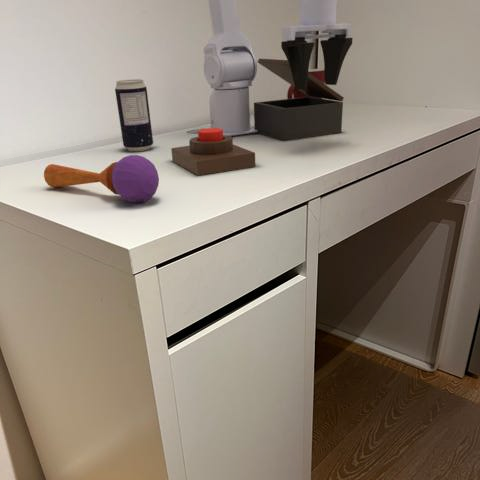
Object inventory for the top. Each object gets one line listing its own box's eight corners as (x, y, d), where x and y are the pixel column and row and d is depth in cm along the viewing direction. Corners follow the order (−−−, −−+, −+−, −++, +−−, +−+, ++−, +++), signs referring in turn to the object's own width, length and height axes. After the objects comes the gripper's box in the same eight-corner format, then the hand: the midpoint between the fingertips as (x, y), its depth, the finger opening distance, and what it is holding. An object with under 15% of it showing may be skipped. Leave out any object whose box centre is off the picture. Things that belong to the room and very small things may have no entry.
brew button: (195, 141, 84) (194, 129, 83) (217, 138, 85) (216, 127, 84) (204, 145, 81) (203, 133, 80) (227, 141, 82) (226, 130, 81)
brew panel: (172, 161, 88) (169, 137, 86) (225, 153, 91) (223, 130, 89) (197, 175, 78) (195, 148, 76) (255, 166, 82) (254, 140, 80)
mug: (304, 120, 120) (305, 73, 115) (278, 117, 125) (277, 72, 120) (330, 113, 126) (332, 69, 121) (304, 111, 131) (304, 68, 126)
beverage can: (159, 146, 99) (151, 79, 93) (142, 152, 95) (133, 82, 89) (135, 145, 101) (126, 79, 95) (118, 151, 97) (107, 82, 91)
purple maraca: (68, 154, 77) (167, 154, 66) (72, 195, 78) (169, 201, 68) (33, 154, 72) (133, 155, 61) (38, 197, 74) (136, 205, 63)
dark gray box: (283, 140, 99) (283, 108, 96) (254, 131, 109) (253, 102, 106) (341, 132, 104) (343, 102, 101) (308, 124, 114) (309, 96, 111)
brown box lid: (288, 64, 93) (290, 60, 93) (257, 62, 103) (258, 58, 103) (342, 101, 101) (344, 97, 101) (308, 96, 111) (310, 92, 111)
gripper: (305, -10, 74) (303, 92, 80) (368, -9, 82) (361, 83, 88) (272, -6, 78) (273, 90, 85) (334, -6, 86) (330, 82, 93)
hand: (316, 86), depth 87 cm, fingers open, 7 cm apart
